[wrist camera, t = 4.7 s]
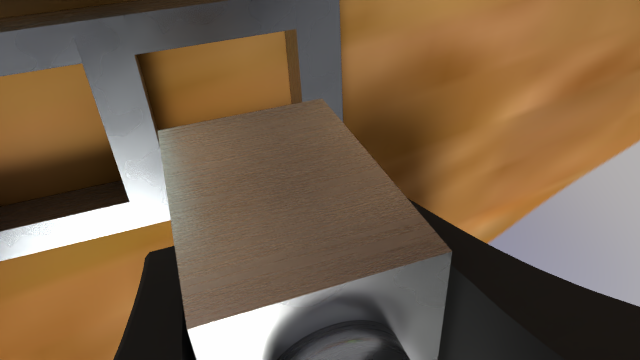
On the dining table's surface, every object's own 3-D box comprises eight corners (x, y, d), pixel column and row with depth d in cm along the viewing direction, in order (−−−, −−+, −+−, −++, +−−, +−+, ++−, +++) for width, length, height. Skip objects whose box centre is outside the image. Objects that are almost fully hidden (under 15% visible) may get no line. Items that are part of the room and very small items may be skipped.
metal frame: (-55, 247, 18) (-67, 277, 17) (-186, 43, 14) (-217, 63, 12) (331, 158, 22) (344, 177, 20) (322, -25, 17) (338, -15, 16)
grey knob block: (192, 258, 14) (239, 511, 8) (157, 130, 11) (192, 366, 6) (328, 222, 14) (448, 428, 9) (322, 98, 12) (474, 278, 7)
